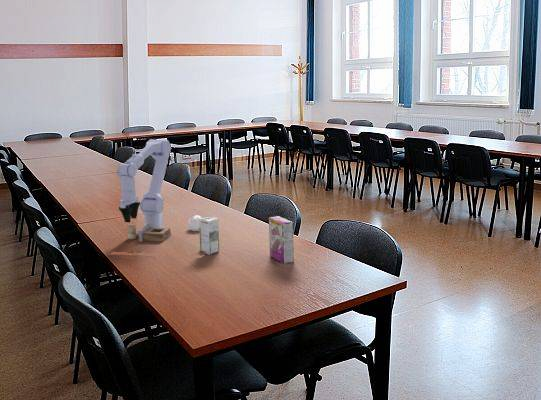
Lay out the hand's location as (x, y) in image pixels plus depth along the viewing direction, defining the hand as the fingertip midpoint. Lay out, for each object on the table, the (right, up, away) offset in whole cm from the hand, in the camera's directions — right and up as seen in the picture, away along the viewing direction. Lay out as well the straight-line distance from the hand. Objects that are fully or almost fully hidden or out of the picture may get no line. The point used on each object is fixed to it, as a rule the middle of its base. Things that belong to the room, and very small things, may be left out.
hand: (130, 220), depth 248 cm
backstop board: (+15, -9, 0) cm, 18 cm away
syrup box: (+37, -13, -17) cm, 43 cm away
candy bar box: (+67, -15, -29) cm, 74 cm away
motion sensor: (+28, -6, +14) cm, 32 cm away
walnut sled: (+12, -8, +1) cm, 14 cm away
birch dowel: (0, -9, +2) cm, 9 cm away
